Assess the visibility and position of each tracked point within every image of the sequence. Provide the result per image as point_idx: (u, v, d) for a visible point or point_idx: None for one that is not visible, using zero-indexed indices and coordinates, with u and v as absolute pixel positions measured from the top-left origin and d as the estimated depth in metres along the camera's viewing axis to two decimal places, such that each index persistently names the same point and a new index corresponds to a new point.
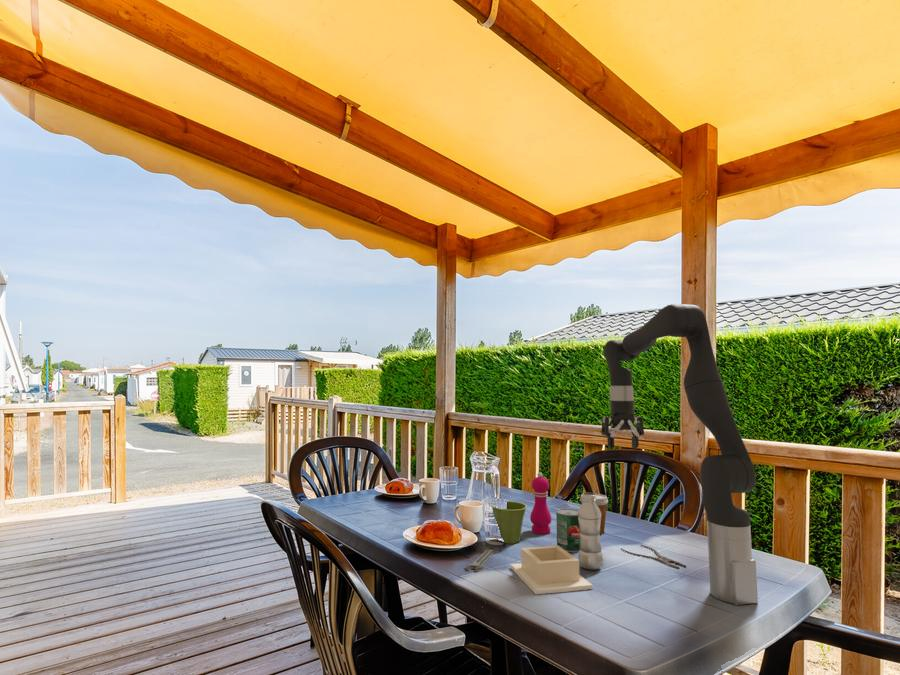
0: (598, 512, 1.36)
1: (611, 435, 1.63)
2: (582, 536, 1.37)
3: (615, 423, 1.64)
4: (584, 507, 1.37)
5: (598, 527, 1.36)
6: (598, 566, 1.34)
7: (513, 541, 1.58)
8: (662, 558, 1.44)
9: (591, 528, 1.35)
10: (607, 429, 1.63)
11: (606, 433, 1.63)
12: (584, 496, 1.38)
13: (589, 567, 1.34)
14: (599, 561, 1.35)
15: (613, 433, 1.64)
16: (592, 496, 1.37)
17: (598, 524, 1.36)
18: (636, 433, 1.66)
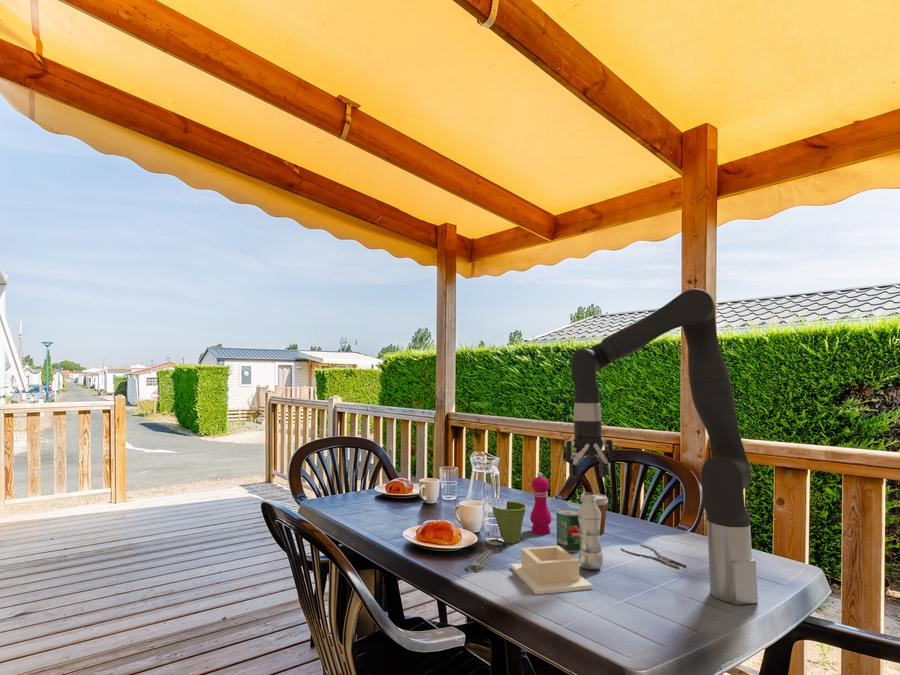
0: (598, 512, 1.36)
1: (574, 462, 1.38)
2: (582, 536, 1.37)
3: (579, 447, 1.38)
4: (584, 507, 1.37)
5: (598, 527, 1.36)
6: (598, 566, 1.34)
7: (513, 541, 1.58)
8: (662, 558, 1.44)
9: (591, 528, 1.35)
10: (569, 455, 1.37)
11: (568, 460, 1.37)
12: (584, 496, 1.38)
13: (589, 567, 1.34)
14: (599, 561, 1.35)
15: (576, 459, 1.38)
16: (592, 496, 1.37)
17: (598, 524, 1.36)
18: (604, 459, 1.40)
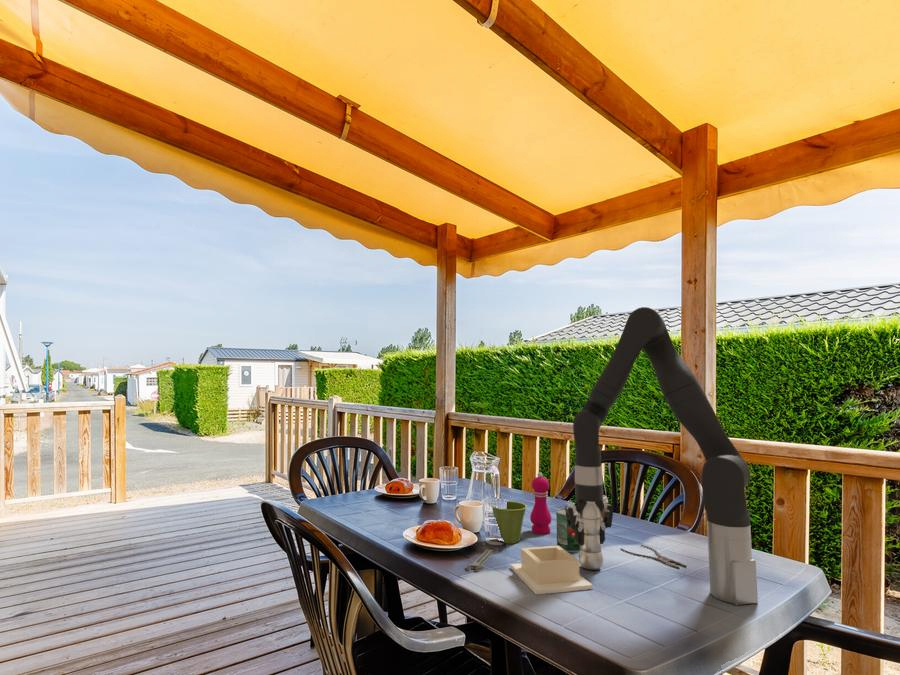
0: (598, 512, 1.36)
1: (579, 529, 1.36)
2: None
3: None
4: (584, 507, 1.37)
5: (598, 527, 1.36)
6: (598, 566, 1.34)
7: (513, 541, 1.58)
8: (662, 558, 1.44)
9: (591, 528, 1.35)
10: (573, 522, 1.36)
11: (573, 527, 1.36)
12: None
13: (589, 567, 1.34)
14: (599, 561, 1.35)
15: (581, 526, 1.36)
16: None
17: (598, 524, 1.36)
18: (602, 525, 1.38)
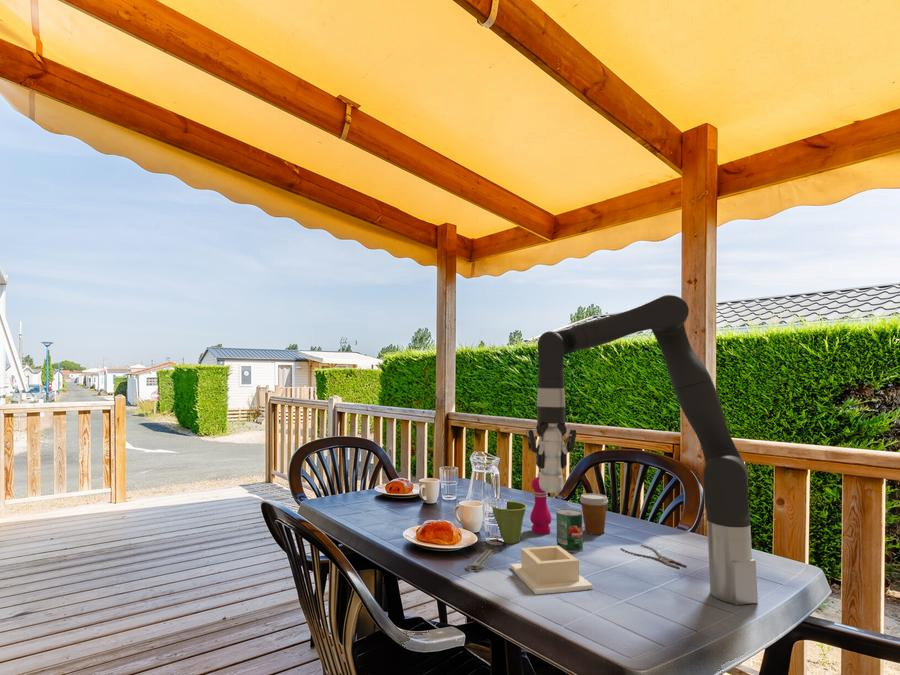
0: (559, 435, 1.33)
1: (539, 452, 1.33)
2: (543, 459, 1.33)
3: None
4: (545, 430, 1.33)
5: (559, 450, 1.33)
6: (558, 489, 1.31)
7: (513, 541, 1.58)
8: (662, 558, 1.44)
9: (551, 450, 1.32)
10: (533, 444, 1.32)
11: (533, 449, 1.32)
12: None
13: (548, 490, 1.31)
14: (559, 484, 1.31)
15: (541, 449, 1.33)
16: None
17: (559, 447, 1.32)
18: (564, 449, 1.34)
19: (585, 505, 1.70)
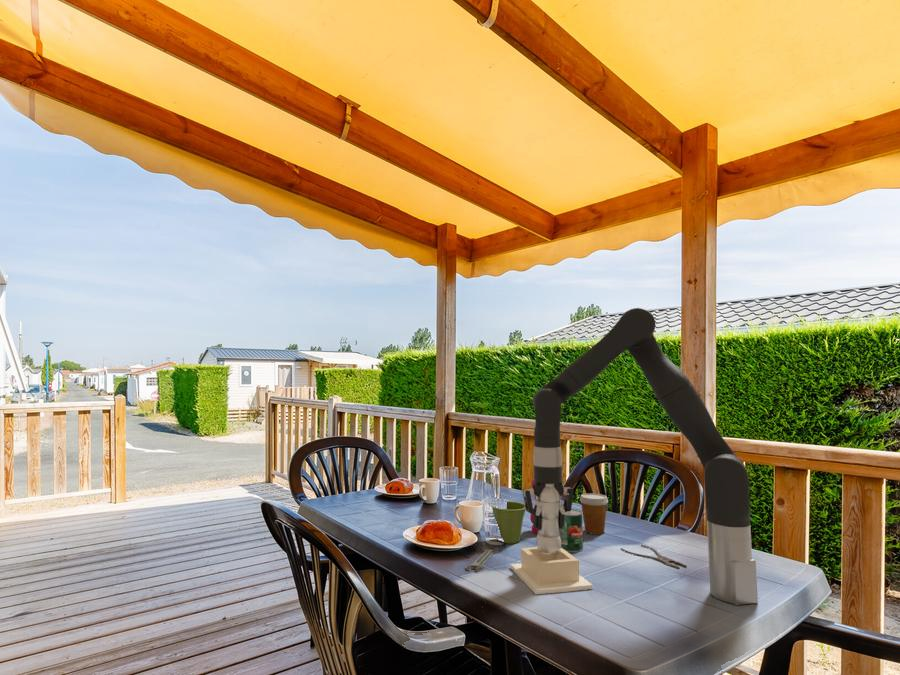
0: (557, 495, 1.30)
1: (537, 513, 1.30)
2: None
3: None
4: (542, 490, 1.31)
5: (556, 511, 1.30)
6: (556, 551, 1.28)
7: (513, 541, 1.58)
8: (662, 558, 1.44)
9: (549, 512, 1.29)
10: (530, 505, 1.30)
11: (530, 511, 1.29)
12: None
13: (546, 552, 1.28)
14: (556, 546, 1.28)
15: (539, 510, 1.30)
16: None
17: (556, 507, 1.30)
18: (561, 509, 1.31)
19: (585, 505, 1.70)
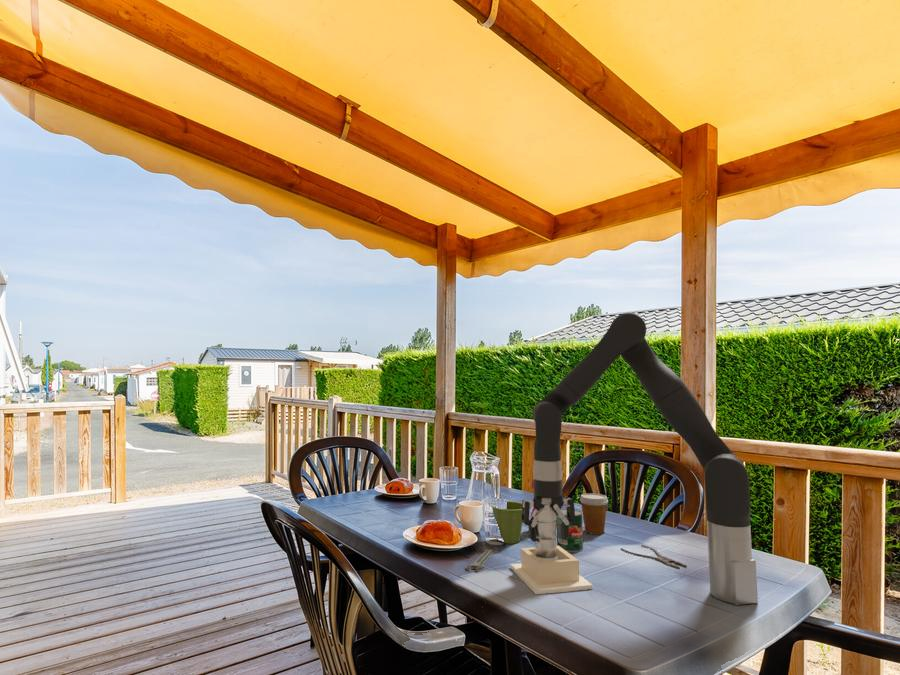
0: (554, 515, 1.30)
1: (532, 524, 1.29)
2: (537, 540, 1.30)
3: (538, 508, 1.30)
4: (539, 510, 1.30)
5: (553, 530, 1.29)
6: None
7: (513, 541, 1.58)
8: (662, 558, 1.44)
9: (546, 532, 1.28)
10: (527, 517, 1.29)
11: (526, 522, 1.29)
12: None
13: None
14: None
15: (535, 522, 1.29)
16: (548, 498, 1.30)
17: (553, 527, 1.29)
18: (565, 520, 1.31)
19: (585, 505, 1.70)
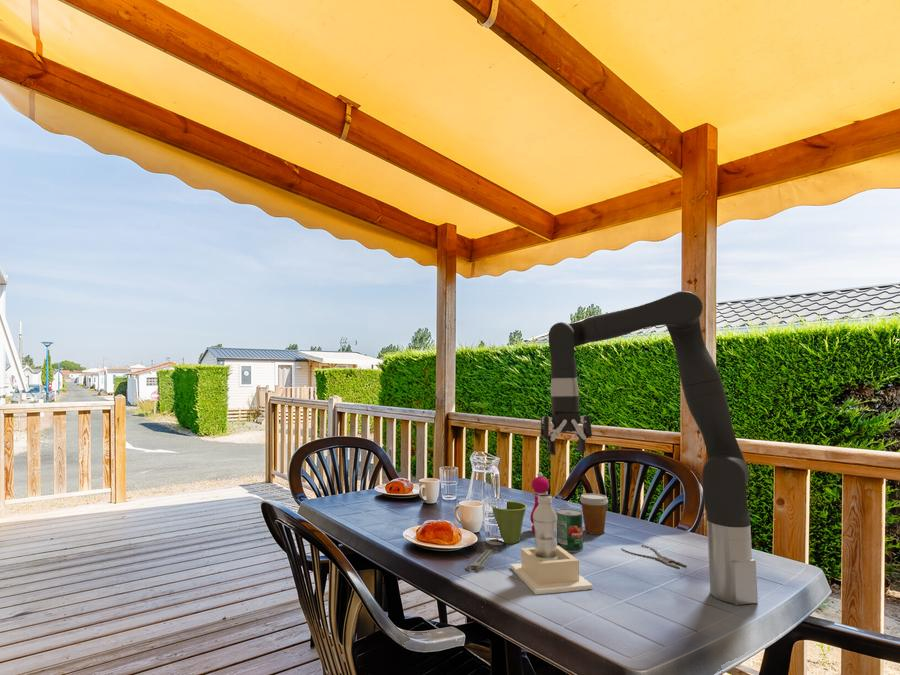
0: (554, 515, 1.30)
1: (551, 438, 1.34)
2: (537, 540, 1.30)
3: (556, 423, 1.36)
4: (539, 510, 1.30)
5: (553, 530, 1.29)
6: None
7: (513, 541, 1.58)
8: (662, 558, 1.44)
9: (546, 532, 1.28)
10: (546, 431, 1.34)
11: (545, 436, 1.34)
12: (539, 498, 1.31)
13: None
14: None
15: (554, 436, 1.35)
16: (548, 498, 1.30)
17: (553, 527, 1.29)
18: (582, 435, 1.37)
19: (585, 505, 1.70)
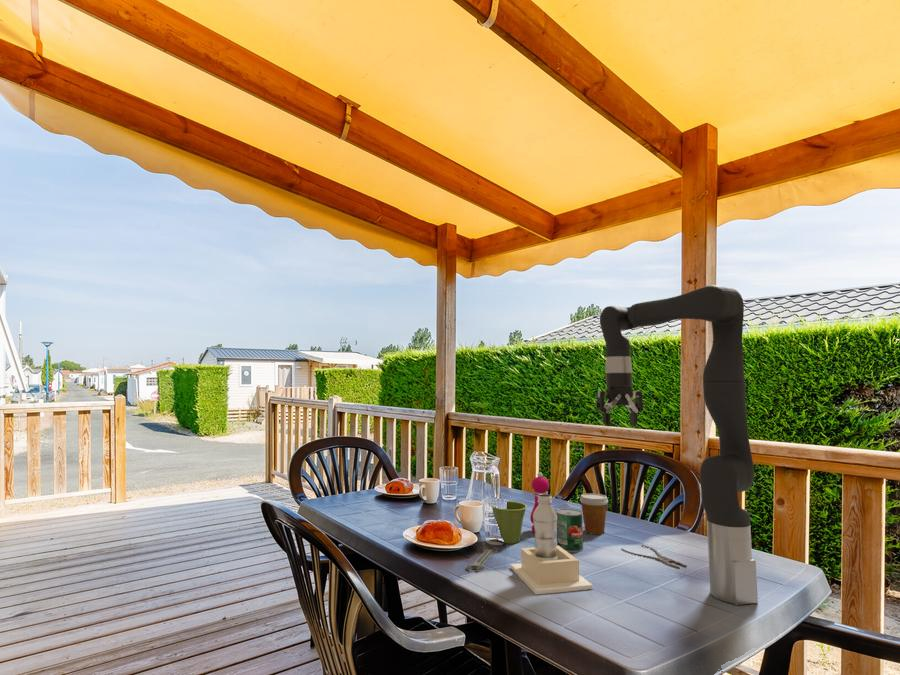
0: (554, 515, 1.30)
1: (607, 411, 1.48)
2: (537, 540, 1.30)
3: (611, 397, 1.49)
4: (539, 510, 1.30)
5: (553, 530, 1.29)
6: None
7: (513, 541, 1.58)
8: (662, 558, 1.44)
9: (546, 532, 1.28)
10: (602, 404, 1.48)
11: (601, 408, 1.47)
12: (539, 498, 1.31)
13: None
14: None
15: (609, 408, 1.48)
16: (547, 498, 1.30)
17: (553, 527, 1.29)
18: (634, 409, 1.50)
19: (585, 505, 1.70)
